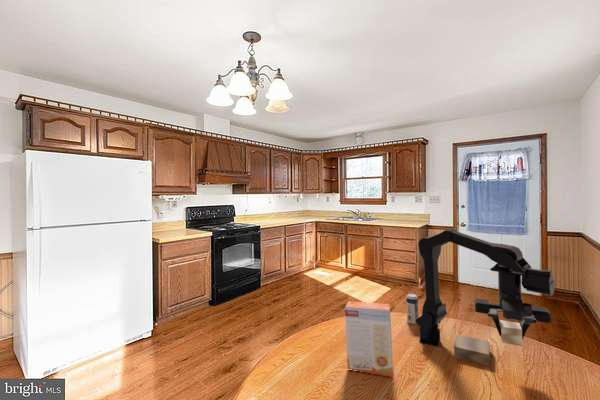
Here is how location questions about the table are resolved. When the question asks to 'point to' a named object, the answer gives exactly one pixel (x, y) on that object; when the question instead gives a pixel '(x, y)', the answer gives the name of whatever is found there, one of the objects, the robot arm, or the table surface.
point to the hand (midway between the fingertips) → (510, 337)
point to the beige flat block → (472, 349)
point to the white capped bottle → (412, 308)
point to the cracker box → (369, 338)
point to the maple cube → (511, 333)
